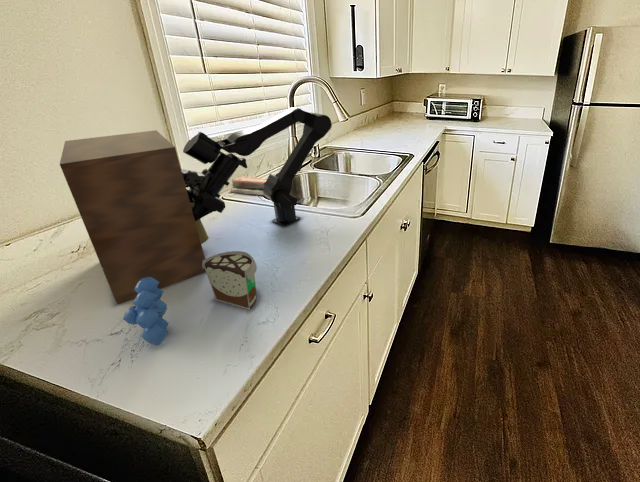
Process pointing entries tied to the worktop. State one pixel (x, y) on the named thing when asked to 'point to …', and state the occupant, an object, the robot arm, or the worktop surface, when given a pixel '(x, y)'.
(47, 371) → the worktop surface
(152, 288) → the grapes
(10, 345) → the worktop surface
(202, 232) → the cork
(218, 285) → the food container
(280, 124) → the robot arm
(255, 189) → the packaged product
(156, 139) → the cupboard
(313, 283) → the worktop surface
